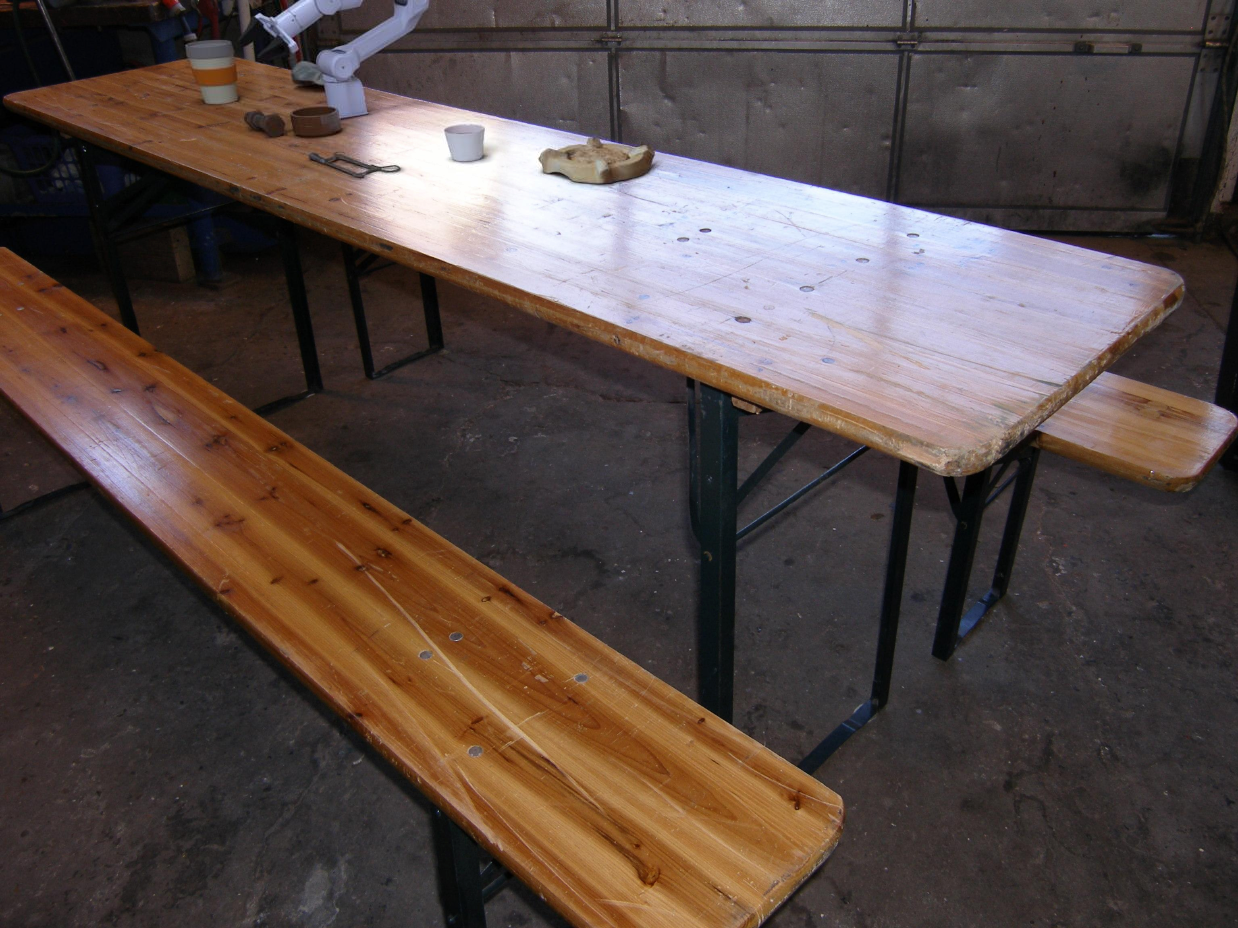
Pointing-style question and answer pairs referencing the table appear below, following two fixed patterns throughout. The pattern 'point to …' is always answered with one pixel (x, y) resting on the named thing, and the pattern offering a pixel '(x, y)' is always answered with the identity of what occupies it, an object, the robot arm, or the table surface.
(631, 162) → the ashtray
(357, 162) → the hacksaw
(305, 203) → the table surface
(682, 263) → the table surface
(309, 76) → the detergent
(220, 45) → the reusable coffee cup
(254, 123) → the bolt
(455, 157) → the white tapered cup
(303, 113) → the bowl
